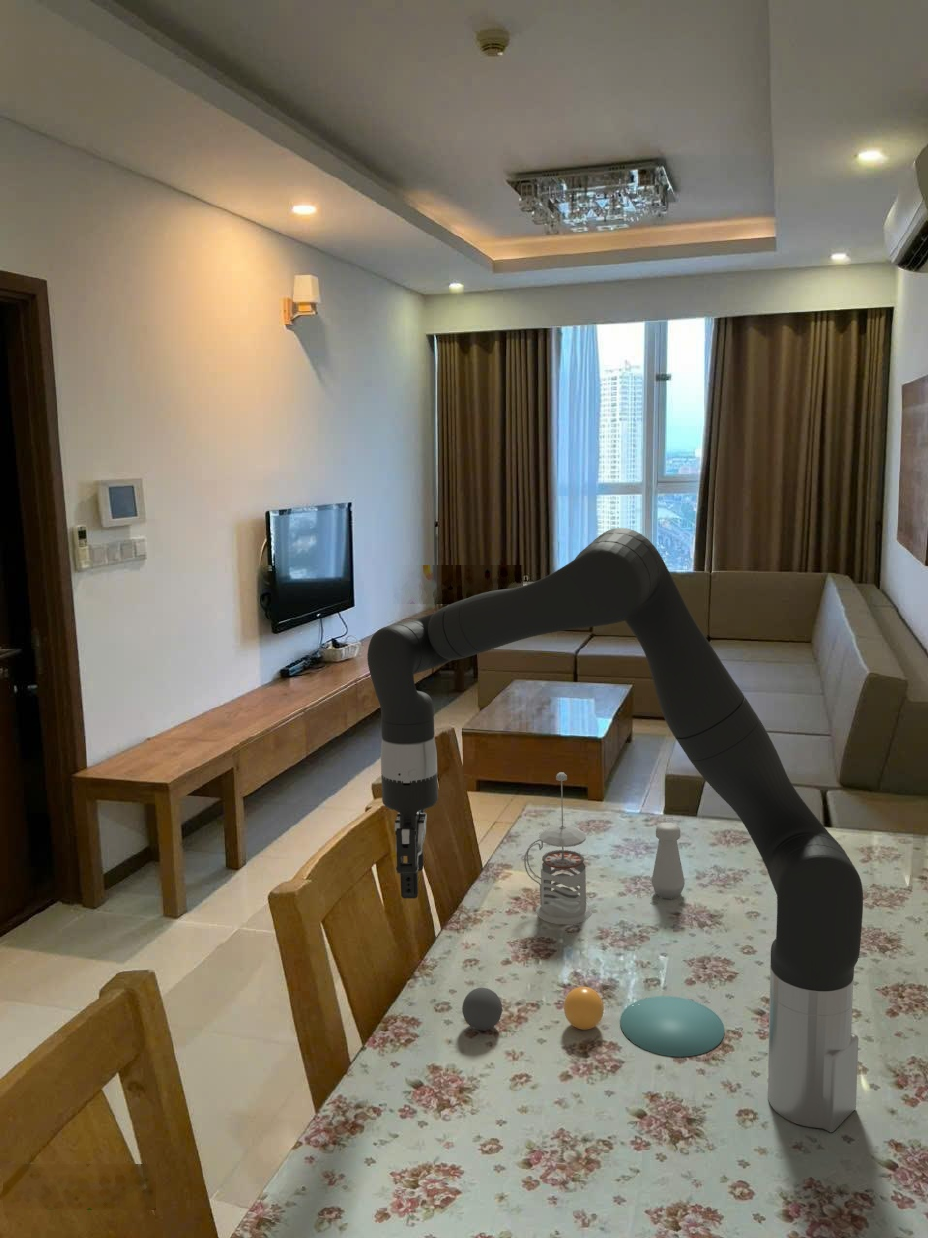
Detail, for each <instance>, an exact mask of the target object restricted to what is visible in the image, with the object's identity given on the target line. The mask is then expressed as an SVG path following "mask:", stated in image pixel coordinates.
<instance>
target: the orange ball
mask: <svg viewBox="0 0 928 1238" xmlns="http://www.w3.org/2000/svg"><path fill="white" fill-rule="evenodd" d="M563 1011H564V1016H565V1018H566V1020H567V1021H568V1022H569V1024H571V1026H573V1027H575V1028H576V1029H579V1030H583V1031H585V1030H591V1029H594V1028H595V1027H596V1026H598V1025H599V1023H600V1022H601V1021H602V1019H603V1017H604V1013H605V1012H604V1011H605V1005H604V1001H603V1000H602V997H601V995H600V994H599V993H598V992H597V991H596V990H594V989H593V988H591V987H588V986H578V987H575V988H573V989H572V990H570V991H569V992H568V994H567V995H566V997H565V999H564V1001H563Z"/></svg>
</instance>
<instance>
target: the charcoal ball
mask: <svg viewBox="0 0 928 1238" xmlns="http://www.w3.org/2000/svg"><path fill="white" fill-rule="evenodd" d="M461 1008H462V1016H463V1018H464V1021H465V1022H466V1023H467V1025H468V1026H469V1027H471V1028H473V1029H474V1030H477V1031H488V1030H490V1029H492V1028H495V1026H496V1025H497V1024H498V1023H499V1022H500V1019H501V1017H502V1013H503V1005H502V1001H501V999H500V997H499V996H498V995H497V993H496V992H495V991H493V990H492V989H490V988H488V987H477V988H474V989H472V990H471V991H469V992H468V993H467V995H466V996H465V997H464V1000H463V1002H462V1007H461Z"/></svg>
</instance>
